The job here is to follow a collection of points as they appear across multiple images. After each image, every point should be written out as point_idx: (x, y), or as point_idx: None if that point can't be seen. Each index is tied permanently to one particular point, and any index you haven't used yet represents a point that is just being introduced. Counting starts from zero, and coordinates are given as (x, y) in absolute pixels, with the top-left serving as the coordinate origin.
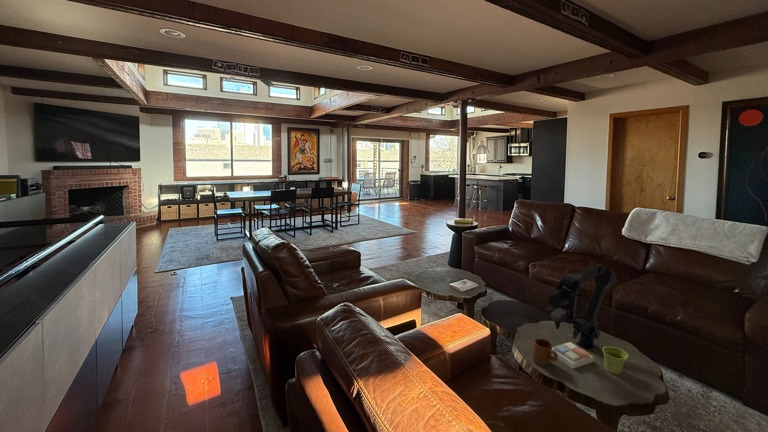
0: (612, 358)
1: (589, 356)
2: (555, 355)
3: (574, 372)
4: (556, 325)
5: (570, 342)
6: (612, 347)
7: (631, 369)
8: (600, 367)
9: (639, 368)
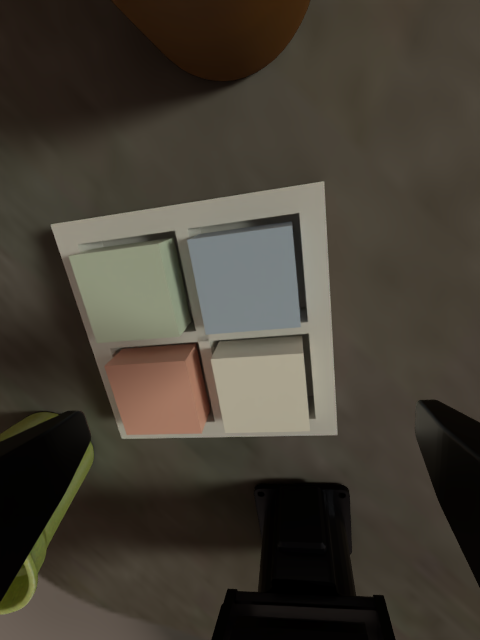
0: None
1: None
2: None
3: (44, 201)
4: (473, 445)
5: (299, 429)
6: (25, 596)
7: None
8: (85, 407)
9: (64, 549)
